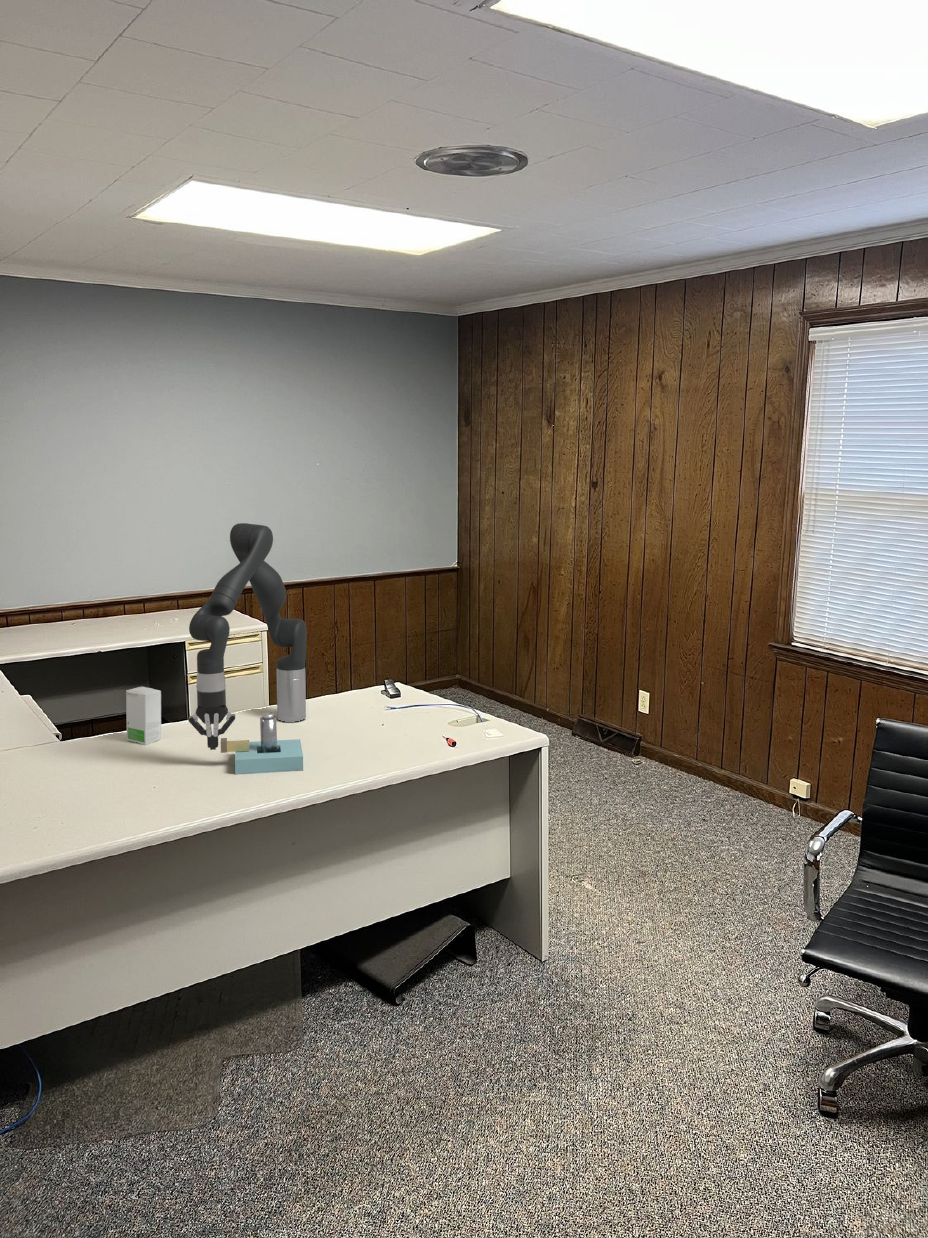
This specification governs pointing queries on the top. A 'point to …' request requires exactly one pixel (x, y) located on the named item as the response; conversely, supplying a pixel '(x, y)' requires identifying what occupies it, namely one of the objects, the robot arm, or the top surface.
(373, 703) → the top surface
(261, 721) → the metal capped cylinder
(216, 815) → the top surface
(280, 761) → the dock
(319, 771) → the top surface
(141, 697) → the skincare box
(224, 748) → the block hammer
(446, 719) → the top surface
